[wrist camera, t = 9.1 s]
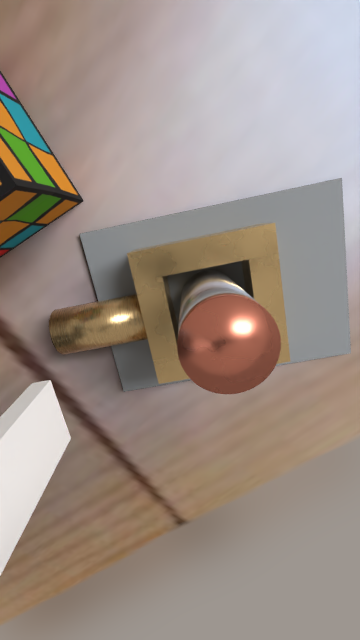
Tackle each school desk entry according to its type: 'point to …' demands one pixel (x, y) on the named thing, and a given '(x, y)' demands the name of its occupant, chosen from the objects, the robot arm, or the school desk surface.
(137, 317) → the fitting socket
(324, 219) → the mat
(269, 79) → the school desk surface
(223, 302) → the copper-capped silver cylinder
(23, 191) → the toy
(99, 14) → the school desk surface
